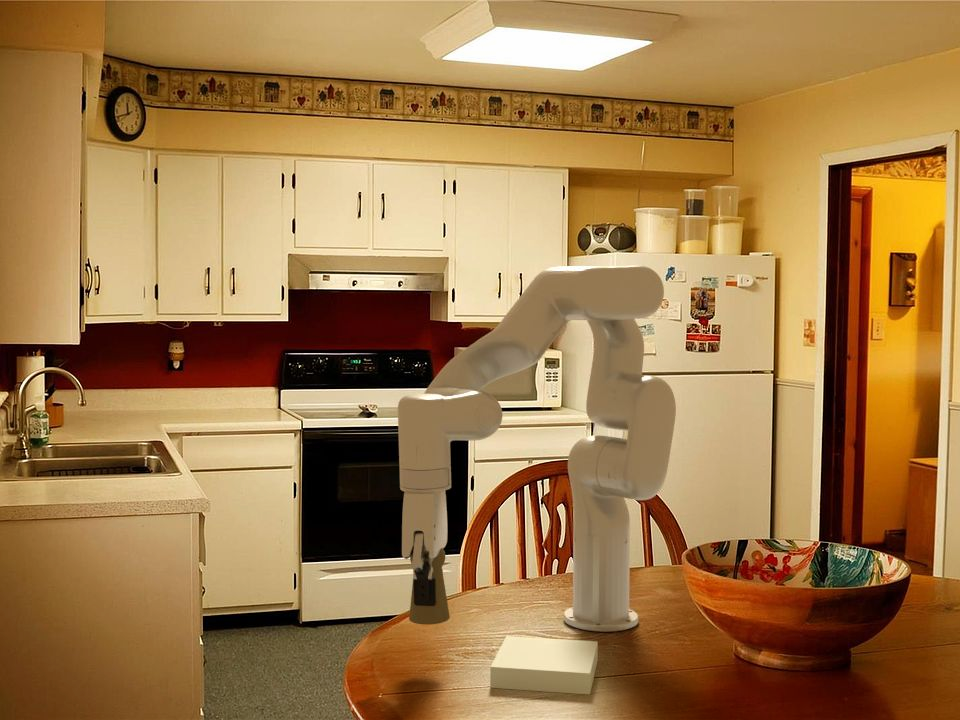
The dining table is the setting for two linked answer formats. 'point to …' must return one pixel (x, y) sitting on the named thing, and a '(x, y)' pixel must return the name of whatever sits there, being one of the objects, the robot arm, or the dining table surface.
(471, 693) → the dining table surface
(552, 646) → the cream block
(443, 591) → the cork
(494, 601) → the dining table surface
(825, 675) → the dining table surface
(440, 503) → the robot arm
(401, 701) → the dining table surface
